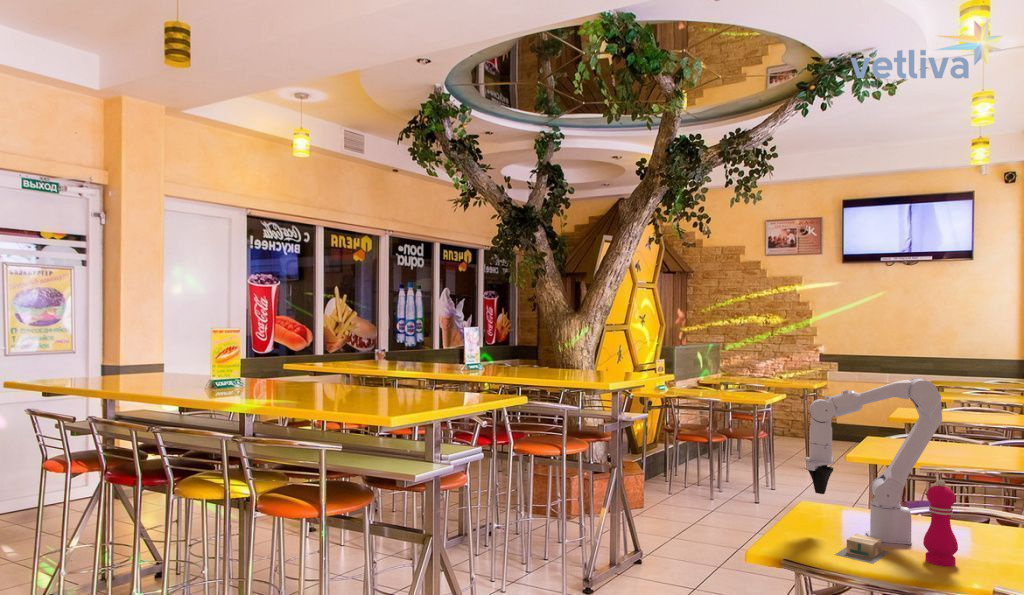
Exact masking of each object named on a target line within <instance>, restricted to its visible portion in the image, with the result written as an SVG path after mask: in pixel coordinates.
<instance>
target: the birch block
mask: <svg viewBox="0 0 1024 595" xmlns="http://www.w3.org/2000/svg"><path fill="white" fill-rule="evenodd" d="M881 541H882V539H878V538H873V537H869V536H868V535H863V534H860V533H859V534H858V533H855V534H854V535H851V537H848V538H847V539H846V547H847V553H851V554H855V555H859V556H864V557H868V558H874V557H875V556H876V555H878V554H879V553H881V550H882V542H881Z"/></svg>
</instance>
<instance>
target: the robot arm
mask: <svg viewBox="0 0 1024 595" xmlns="http://www.w3.org/2000/svg"><path fill="white" fill-rule="evenodd" d="M892 398H899V399H903V400H909V399H910V401H911V402H912V403H913V404H914V408H915V409H916V412H917V415H918V418H917V420H916V421H915V423H914V424H913V426H912V428H911V430H910V431H909V433H908V434H907V436H906V438H905V439H904V441H903V442H902V445H901V446H900V448H899V449H898V451H897V453H896V454H895V455H894V457H893V459H892V460H891V462H890V463H889V465H888V466H887V468H885V469H884V470H883V472H882V473H881V474H880V475H879V476H878V477H876V478H874V480H872V482H871V483H870V484H871V485H870V490H871V493H872V495H873V496H874V497H873V499H872V500H870V512H869V514H870V516H869V517H870V519H869V520H870V523H869V524H870V527H869V528H870V530H869V531H865V534H866V536H869V537H873V538H878V539H882V541H881V543H888V544H889V543H890V544H900V545H913V542H912V514H911V510H910V508H909V507H906V506H902V504H901V503H900V502H901V501H902V493H903V490H904V488H905V486H906V482H907V478H908V477H909V475H910V474H911V471H912V470H913V469H914V468H915V465H916V463H917V462H918V461H919V459H920V458H921V455H922V454H923V452H924V451H925V449H926V447H927V446H928V445H929V443H930V441H931V439H932V438H933V436H934V435H935V433H936V431H937V430H938V428H939V426H940V425H941V424H942V422H943V412H942V395H941V393H940V391H939V389H938V387H937V386H936V384H934V383H933V382H932V381H930V380H926V379H924V378H922V377H913V378H911V379H903V380H898V381H894V382H890V383H888V384H884V385H882V386H877V387H875V388H871V389H869V390H866V391H865V390H864V391H861V392H856V391H855V390H848V389H843V390H842V393H838V394H835V395H831V396H829V395H825V396H824V399H822V398H818V399H814V400H813V401H812V402H811V403H810V405H809V408H808V411H809V414H810V419H809V422H810V425H809V446H808V447H809V450H808V451H809V452H808V454H809V456H806V457H805V458H804V460H805V461H806V471H807V472H808V473H809V474H810V477H811V480H812V485H813V489H814V492H815V494H819V495H824V494H825V493H826V491H827V486H828V483H829V479H830V477H831V475H832V473H833V472H834V467H832V466H831V465H834V463H835V461H834V460H835V456H833V427H832V419H833V417H836V418H838V417H842V416H843V417H844V416H846V415H849V414H853V413H857V412H860V411H861V410H862V408H863V406H864V405H868V404H871V403H876V402H879V401H884V400H888V399H892Z"/></svg>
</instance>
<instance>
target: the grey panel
mask: <svg viewBox="0 0 1024 595" xmlns="http://www.w3.org/2000/svg"><path fill="white" fill-rule="evenodd" d="M889 553H890V551H888V550H884V549H881V553H879V554H878V555H876V556H875V557H874V558H868V557H864V556H859V555H855V554H851V553H847V546H846V547H844V548H842V549H841V550H840V551H838V552H836V553H835V554H834V556H838V557H842V558H845V559H846V558H847V559H851V560H854V561H858V562H863V563H868V564H872V565H874V564H875V563H877V562H879V560H881V559H883V558H884V557H885V556H887V555H888V554H889Z"/></svg>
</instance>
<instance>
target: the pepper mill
mask: <svg viewBox="0 0 1024 595" xmlns="http://www.w3.org/2000/svg"><path fill="white" fill-rule="evenodd" d="M926 499H927V501H928V502H929V503H930V504H929V505H928V507H929V508H928V511H929V512H930V517H931V518H930V525H929V527H928V529H927V531H926V532H925V534H924V536H923V541H922V542H923V547H924V548H925V549H926V552H925V562H927V563H929V564H932V565H934V566H939V567H940V566H941V567H948V568H949V567H950V568H951V567H955V566H956V563H957V562H956V557H955V556H954V555H955V554H956V553H957V552H958V550H959V549H958V548H959V546H958V545H959V544H958V541H957V538H956V536H955V533H954V531H953V528H952V525H951V516H952V515H953V514H954V512H953V510H954V509H953V507H952V506H953V505H954V504H955V502H956V496H955V492H954V491H953V489H951V488H949V487H948V486H946V482H945V480H944V479H937V481H936V485H933V486H931V487H929V488H928V490H927V492H926Z"/></svg>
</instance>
